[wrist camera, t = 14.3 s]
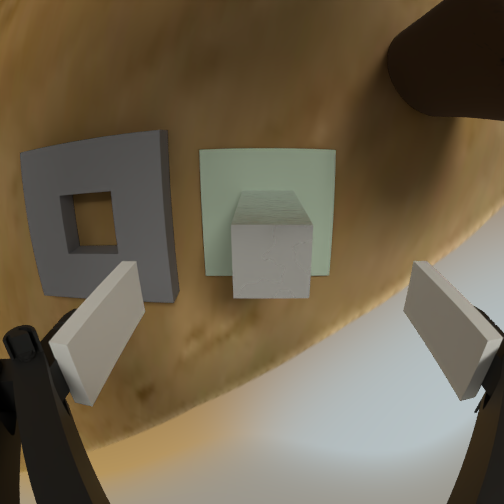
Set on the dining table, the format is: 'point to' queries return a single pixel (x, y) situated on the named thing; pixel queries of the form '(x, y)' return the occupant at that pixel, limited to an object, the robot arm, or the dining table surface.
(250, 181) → the green mat
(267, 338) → the dining table surface
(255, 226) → the metal peg
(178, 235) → the dining table surface
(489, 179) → the dining table surface
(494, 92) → the olive oil
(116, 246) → the pocket block
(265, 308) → the dining table surface
